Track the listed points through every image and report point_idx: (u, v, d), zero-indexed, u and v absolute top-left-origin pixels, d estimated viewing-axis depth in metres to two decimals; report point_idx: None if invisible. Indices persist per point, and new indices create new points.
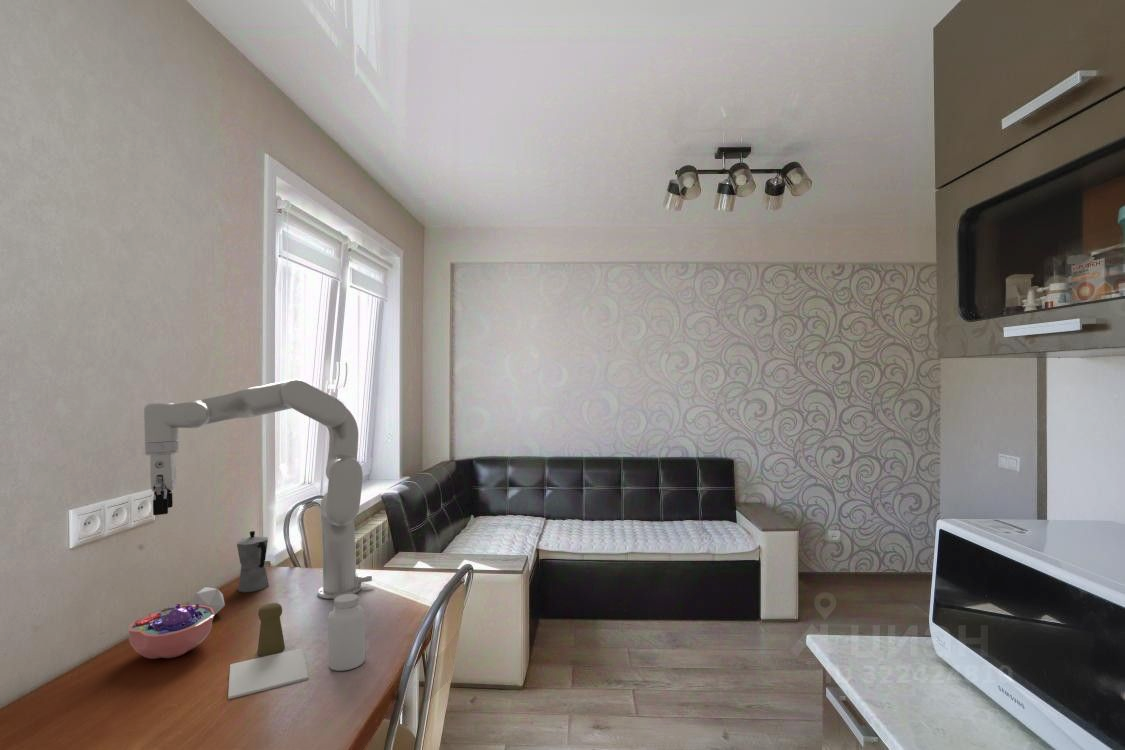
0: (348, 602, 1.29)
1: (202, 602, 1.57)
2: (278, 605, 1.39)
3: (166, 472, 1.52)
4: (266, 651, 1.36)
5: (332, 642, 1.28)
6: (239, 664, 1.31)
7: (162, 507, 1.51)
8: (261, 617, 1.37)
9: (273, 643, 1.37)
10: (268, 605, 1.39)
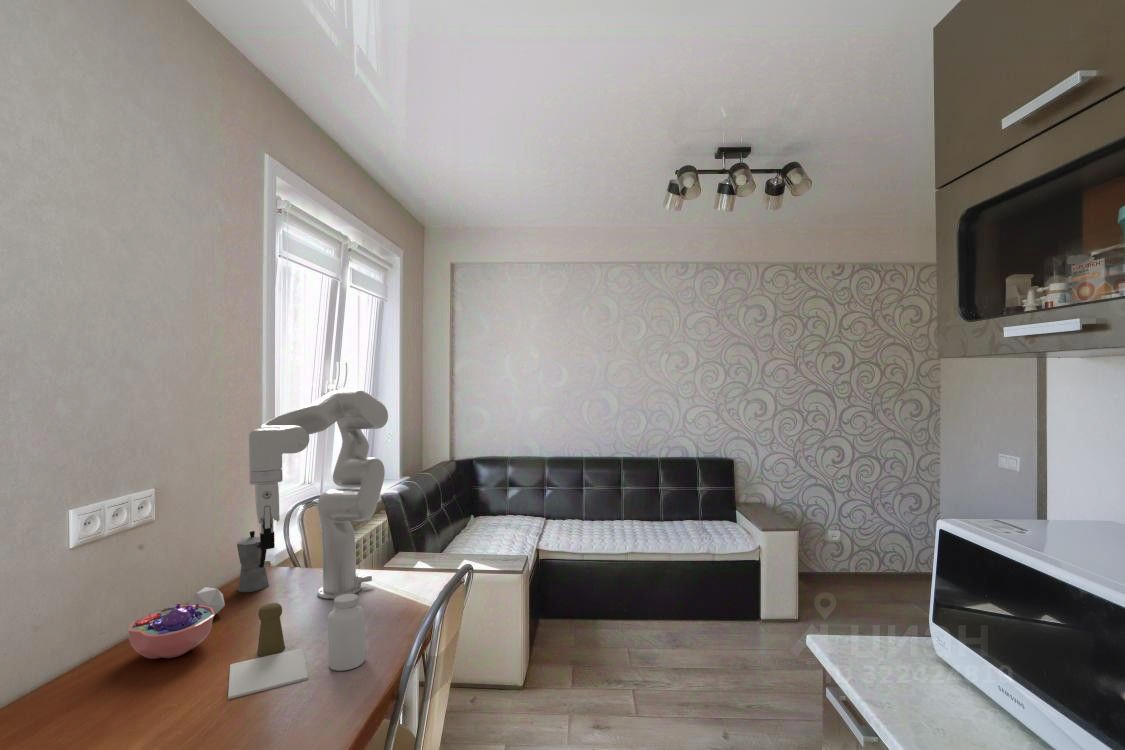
0: (348, 602, 1.29)
1: (202, 602, 1.57)
2: (278, 605, 1.39)
3: (273, 503, 1.43)
4: (266, 651, 1.36)
5: (332, 642, 1.28)
6: (239, 664, 1.31)
7: (269, 541, 1.46)
8: (261, 617, 1.37)
9: (273, 643, 1.37)
10: (268, 605, 1.39)
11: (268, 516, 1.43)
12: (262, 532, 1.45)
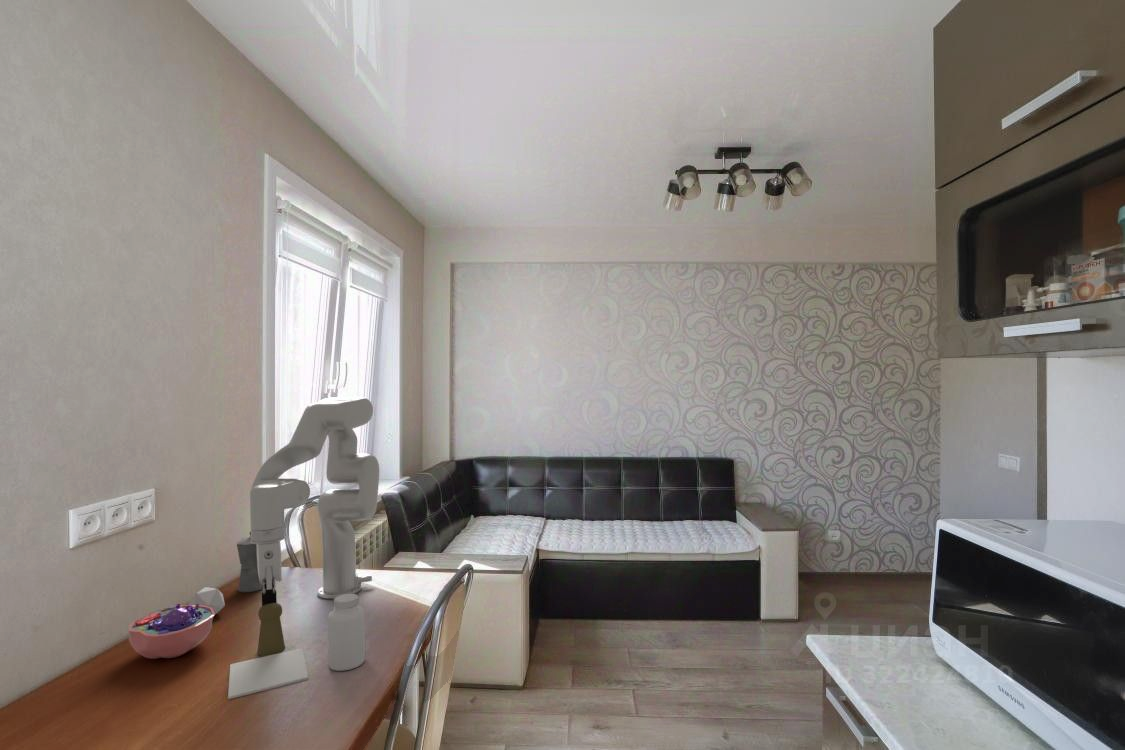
0: (348, 602, 1.29)
1: (202, 602, 1.57)
2: (278, 605, 1.39)
3: (275, 563, 1.39)
4: (266, 651, 1.36)
5: (332, 642, 1.28)
6: (239, 664, 1.31)
7: (271, 601, 1.42)
8: (261, 617, 1.37)
9: (273, 643, 1.37)
10: (268, 605, 1.39)
11: (270, 577, 1.39)
12: (264, 592, 1.41)
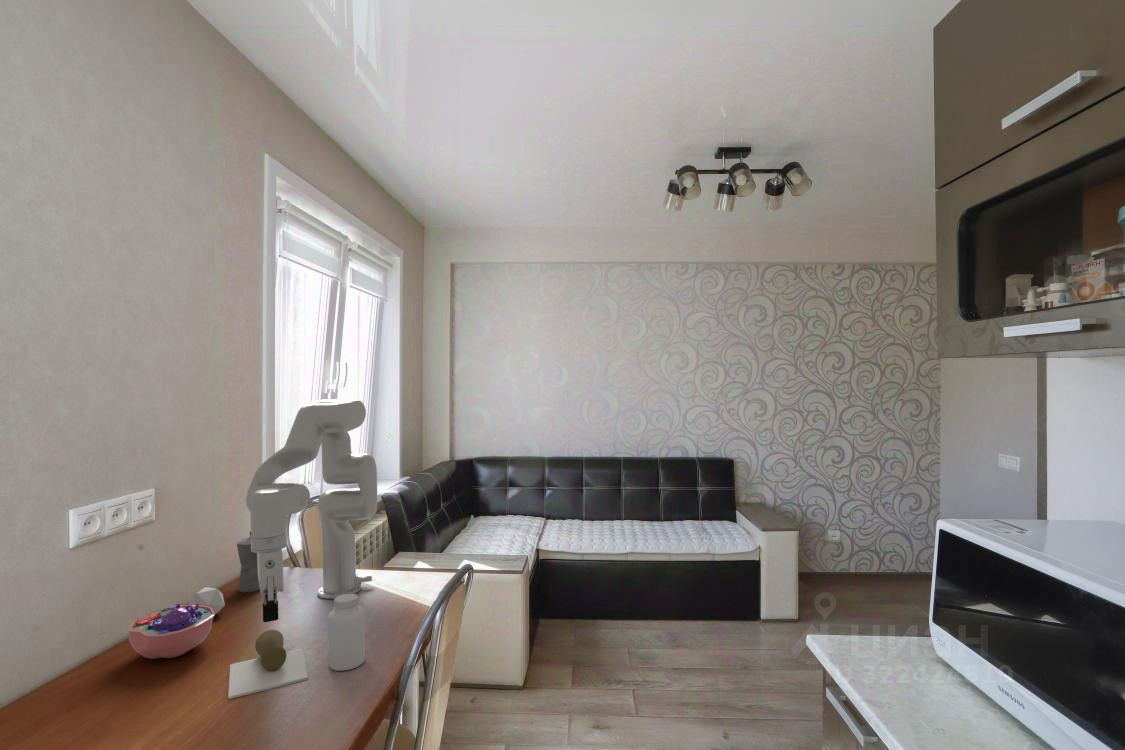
0: (348, 602, 1.29)
1: (202, 602, 1.57)
2: (283, 659, 1.28)
3: (277, 572, 1.32)
4: None
5: (332, 642, 1.28)
6: (239, 664, 1.31)
7: (273, 613, 1.34)
8: None
9: None
10: (272, 662, 1.27)
11: (271, 587, 1.32)
12: (265, 603, 1.33)
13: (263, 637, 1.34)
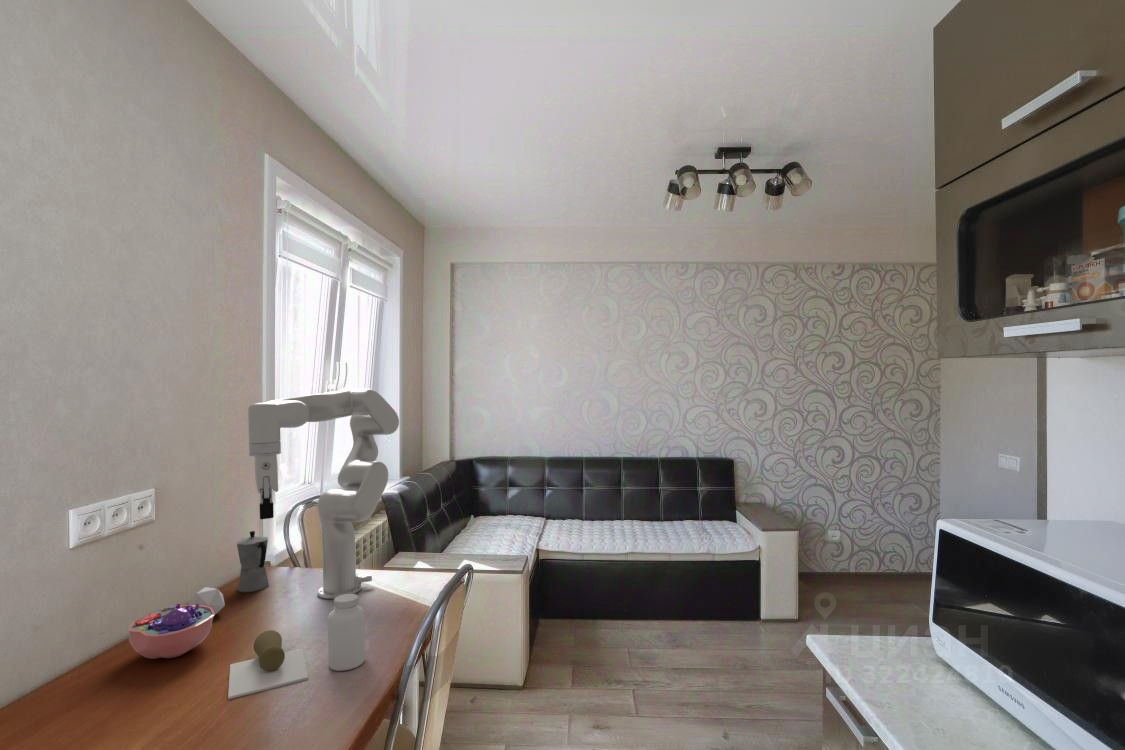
0: (348, 602, 1.29)
1: (202, 602, 1.57)
2: (282, 659, 1.28)
3: (272, 474, 1.49)
4: None
5: (332, 642, 1.28)
6: (239, 664, 1.31)
7: (268, 511, 1.51)
8: None
9: None
10: (271, 663, 1.27)
11: (267, 486, 1.48)
12: (261, 502, 1.50)
13: (260, 639, 1.33)
